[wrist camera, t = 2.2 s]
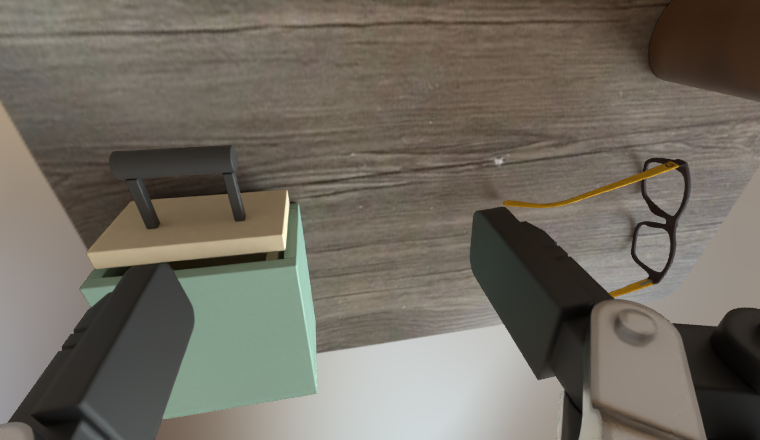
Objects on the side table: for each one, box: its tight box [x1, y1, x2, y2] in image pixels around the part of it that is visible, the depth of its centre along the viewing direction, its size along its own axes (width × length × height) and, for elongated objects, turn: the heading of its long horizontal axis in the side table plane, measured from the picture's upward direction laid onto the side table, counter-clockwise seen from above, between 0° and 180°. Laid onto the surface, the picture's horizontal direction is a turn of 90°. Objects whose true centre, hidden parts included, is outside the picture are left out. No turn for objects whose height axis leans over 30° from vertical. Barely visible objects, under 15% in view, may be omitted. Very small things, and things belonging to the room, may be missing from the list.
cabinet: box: [80, 203, 317, 419], centre depth 26 cm, size 14×12×8 cm
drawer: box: [86, 145, 289, 271], centre depth 24 cm, size 17×10×6 cm, turn 179°
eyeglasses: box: [503, 158, 691, 298], centre depth 32 cm, size 14×14×4 cm
